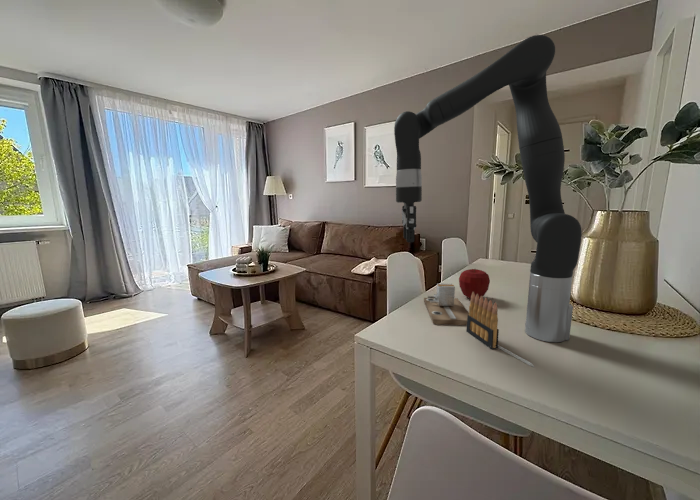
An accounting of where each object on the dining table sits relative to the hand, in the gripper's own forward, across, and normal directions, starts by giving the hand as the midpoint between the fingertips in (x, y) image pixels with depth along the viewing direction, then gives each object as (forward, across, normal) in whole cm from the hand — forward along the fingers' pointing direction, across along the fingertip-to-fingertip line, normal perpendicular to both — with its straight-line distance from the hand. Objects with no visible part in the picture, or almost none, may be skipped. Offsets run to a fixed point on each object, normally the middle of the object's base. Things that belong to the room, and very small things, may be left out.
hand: (408, 240), depth 88 cm
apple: (+26, +20, -26) cm, 42 cm away
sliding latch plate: (+25, +6, -13) cm, 29 cm away
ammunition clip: (+26, -13, -18) cm, 34 cm away
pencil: (+26, -20, -21) cm, 39 cm away
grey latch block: (+23, +8, -12) cm, 27 cm away
